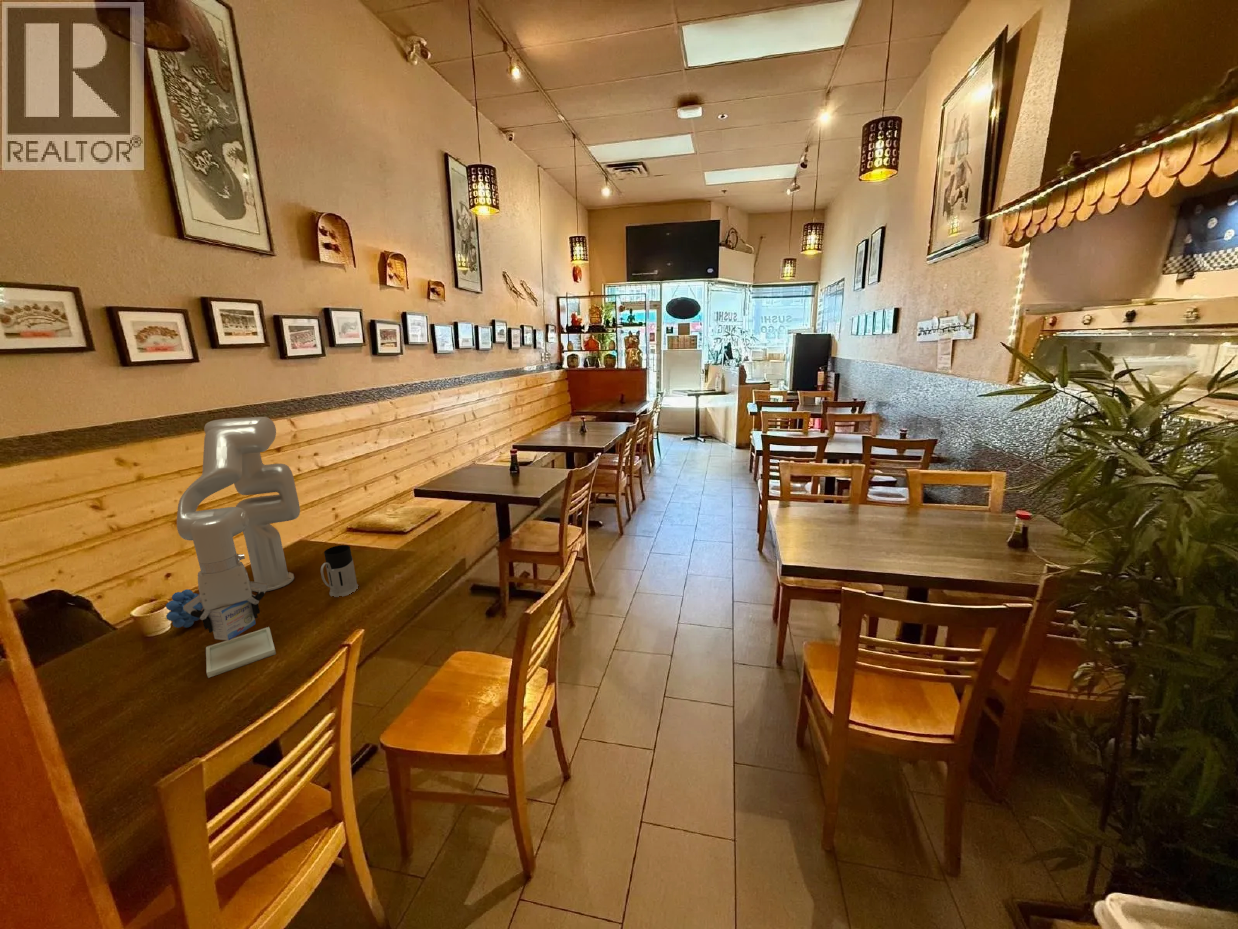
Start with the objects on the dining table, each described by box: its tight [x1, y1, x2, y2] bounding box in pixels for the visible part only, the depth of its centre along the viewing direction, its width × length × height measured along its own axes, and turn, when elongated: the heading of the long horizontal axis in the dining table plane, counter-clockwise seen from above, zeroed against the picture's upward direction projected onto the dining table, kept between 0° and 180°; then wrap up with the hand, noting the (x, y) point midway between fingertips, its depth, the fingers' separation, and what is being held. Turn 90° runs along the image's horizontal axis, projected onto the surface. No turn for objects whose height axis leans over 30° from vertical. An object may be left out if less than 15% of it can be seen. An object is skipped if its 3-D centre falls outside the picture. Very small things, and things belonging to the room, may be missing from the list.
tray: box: [205, 626, 277, 679], centre depth 127 cm, size 14×14×2 cm
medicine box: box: [208, 600, 256, 641], centre depth 124 cm, size 8×4×9 cm, turn 168°
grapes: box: [165, 588, 203, 629], centre depth 138 cm, size 12×7×12 cm, turn 6°
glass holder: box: [320, 544, 359, 598], centre depth 155 cm, size 9×14×15 cm, turn 2°
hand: (233, 623), depth 125 cm, fingers closed on medicine box, 9 cm apart
